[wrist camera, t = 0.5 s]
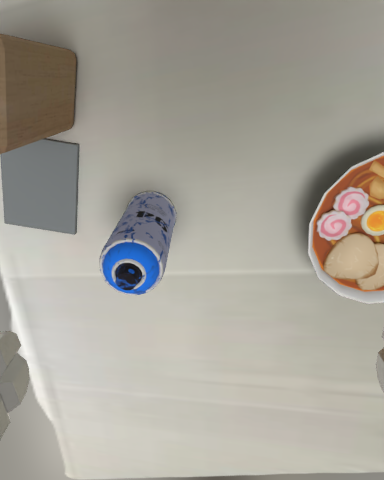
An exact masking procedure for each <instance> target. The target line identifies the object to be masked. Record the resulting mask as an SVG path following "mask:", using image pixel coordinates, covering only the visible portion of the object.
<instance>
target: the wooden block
mask: <svg viewBox="0 0 384 480" xmlns="http://www.w3.org/2000/svg"><path fill="white" fill-rule="evenodd" d="M75 79H76V57H75V54H74V53H73V52H72V51H70V50H68V49H64V48H60V47H56V46H51V45H47V44H43V43H39V42H34V41H30V40H26V39H22V38H17V37H13V36H9V35H5V34H0V154H2V153H6V152H8V151H11V150H14V149H17V148H19V147H22V146H25V145H28V144H30V143H33V142H36V141H39V140H41V139H44V138H47V137H50V136H52V135H55V134H58V133H61V132H63V131H66V130H69V129H71V128H72V126H73V120H74V100H75Z"/></svg>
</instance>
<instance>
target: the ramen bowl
mask: <svg viewBox="0 0 384 480" xmlns="http://www.w3.org/2000/svg"><path fill="white" fill-rule="evenodd" d="M308 255H309V258H310V260H311V262H312V265H313V267H314V269H315V272H316V274H317V277H318V279H320V280H321V281H322V282H323V283H324V284H326V285H327V286H328V287H329V288H331V289H332V290H333V291H334V292H335V293H337V294H338V295H339V296H342V297H345V298H349V299H352V300H355V301H359V302H362V303H365V304H373V303H384V152H382V153H380V154H378V155H376V156H373V157H371V158H369V159H367V160H365V161H363V162H360V163H358V164H356V165H354V166H352V167H350V168H349V169H348V170H347V171H346V172H345V173H344V174H343V175H342V176H341V177H340V178H339V179H338V180H337V181H336V182H335V183H334V184H333V185H332V186H331V187H330V188H329V189H328V190H327V191H326V192H325V193H324V195H323V197H322V199H321V201H320V203H319V205H318V207H317V209H316V211H315V213H314V215H313V217H312V219H311V221H310V223H309V236H308Z"/></svg>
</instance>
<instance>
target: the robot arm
mask: <svg viewBox="0 0 384 480" xmlns="http://www.w3.org/2000/svg"><path fill="white" fill-rule="evenodd" d="M382 338H383V339H384V329H383V333H382ZM20 346H21V344H20V341H19V339H18V336H17V334H16V333H13V332H11V331H0V440H1V438H2V436H3V434H4V432H5V430H6V429H7V427H8V425H9V423H10V419H9V412H10V411H12V410H13V409H14V408H16V407H17V406H18V405H19V404H21V402H22V400H23V398H24V396H25V394H26V392H27V387H28V383H29V368H28V365H27V362H26V360H25V359H24V358H23V357H21V356H20V355H19V354H18V353H17V352H18V350H19V348H20ZM376 369H377V377H378V380H379V383H380V386H381V389H382V390H383V392H384V348H383V349H382V350H381V351H380V352H378V356H377V362H376Z"/></svg>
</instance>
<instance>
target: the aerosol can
mask: <svg viewBox="0 0 384 480" xmlns="http://www.w3.org/2000/svg"><path fill="white" fill-rule="evenodd" d="M175 222H176V211H175V208H174V205H173V204H172V202H171V201H170V199H168V198H167V197H166V196H164V195H163V194H160V193H158V192H154V191H146V192H142V193H139V194H137V195H136V196H134V197H133V198H132V199H131V201H130V202H129V203H128V206H127V209H126V211H125V213H124V214H123V216H122V218H121V219H120V221H119V223H118V224H117V226H116V228H115V229H114V231H113V233H112V235H111V236H110V238H109V240H108V241H107V243H106V245H105V246H104V248H103V250H102V253H101V256H100V261H99V263H100V272H101V274H102V276H103V279H104V280H105V281H106V282H107V284H108V285H109V286H110V287H112V288H113V289H115V290H116V291H118V292H121V293H124V294H127V295H139V294H144V293H147V292H148V291H150V290H152V289H154V288H155V287H156V285H157V284H158V283H159V282H160V280H161V279H162V277H163V274H164V272H165V267H166V262H167V257H168V252H169V247H170V242H171V237H172V232H173V227H174V225H175Z"/></svg>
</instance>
